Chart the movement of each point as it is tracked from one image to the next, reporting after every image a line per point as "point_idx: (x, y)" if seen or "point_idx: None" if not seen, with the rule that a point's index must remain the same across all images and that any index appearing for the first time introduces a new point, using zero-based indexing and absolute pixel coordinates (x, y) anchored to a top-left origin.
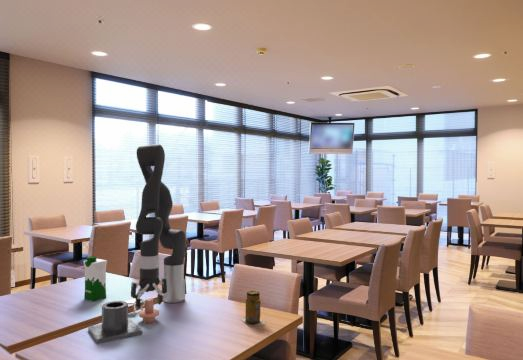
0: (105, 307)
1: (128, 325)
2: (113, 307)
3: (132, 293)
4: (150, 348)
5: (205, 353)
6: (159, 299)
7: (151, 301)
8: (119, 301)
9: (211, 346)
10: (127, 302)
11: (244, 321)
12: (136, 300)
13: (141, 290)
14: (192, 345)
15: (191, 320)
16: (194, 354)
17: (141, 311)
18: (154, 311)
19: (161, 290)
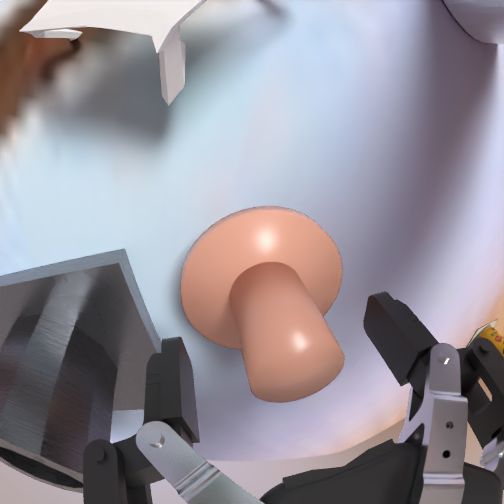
0: (11, 466)
1: (117, 354)
2: (48, 481)
3: (105, 484)
4: (201, 446)
5: (305, 454)
6: (384, 360)
7: (303, 394)
8: (32, 455)
9: (332, 439)
10: (96, 9)
11: (472, 340)
12: (154, 411)
13: (234, 495)
14: (302, 440)
15: (414, 309)
16: (285, 457)
17: (209, 255)
18: (308, 288)
19: (462, 378)
